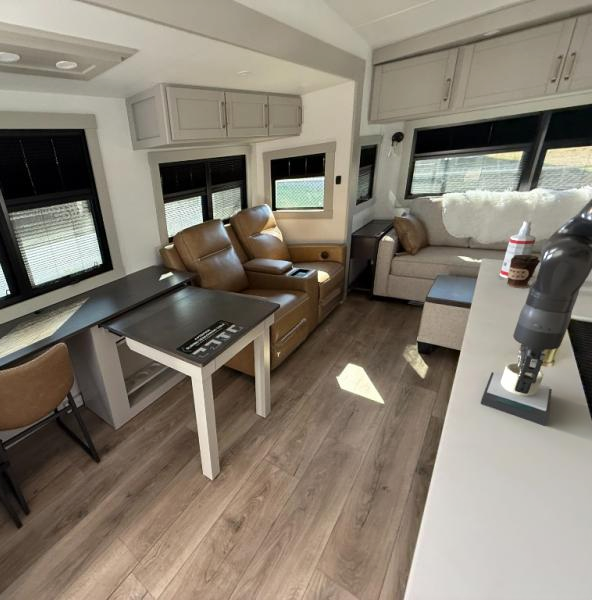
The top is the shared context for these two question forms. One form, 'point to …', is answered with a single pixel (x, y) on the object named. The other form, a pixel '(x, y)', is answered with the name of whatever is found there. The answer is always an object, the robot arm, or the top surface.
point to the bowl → (512, 377)
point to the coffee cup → (522, 270)
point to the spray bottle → (518, 247)
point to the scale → (517, 401)
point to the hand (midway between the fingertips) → (520, 382)
